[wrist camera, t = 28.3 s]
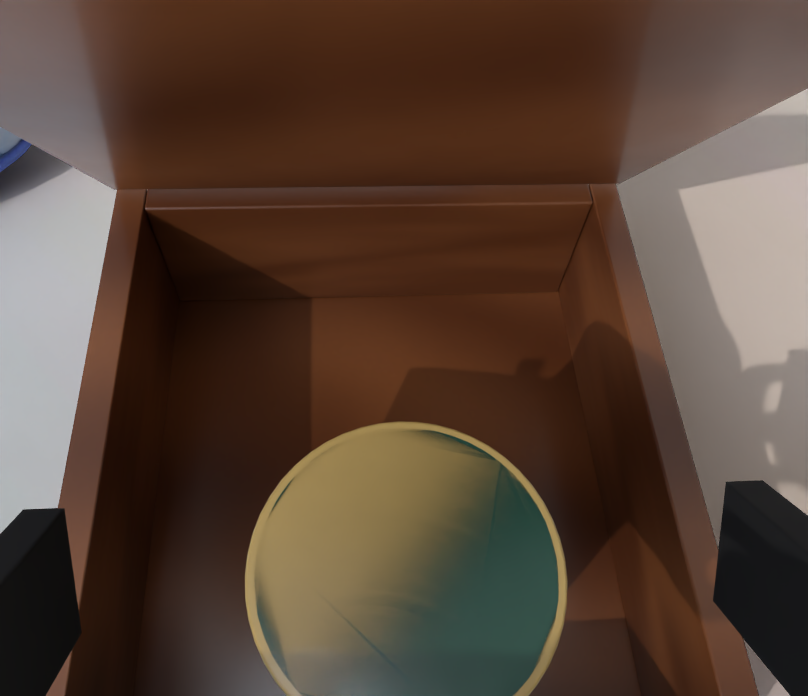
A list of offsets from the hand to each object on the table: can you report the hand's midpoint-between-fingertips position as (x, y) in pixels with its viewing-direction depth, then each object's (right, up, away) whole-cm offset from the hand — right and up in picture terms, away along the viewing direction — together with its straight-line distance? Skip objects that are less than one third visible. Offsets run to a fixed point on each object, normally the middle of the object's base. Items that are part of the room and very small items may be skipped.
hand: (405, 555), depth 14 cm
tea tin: (0, -5, +6) cm, 8 cm away
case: (-1, -1, +9) cm, 9 cm away
